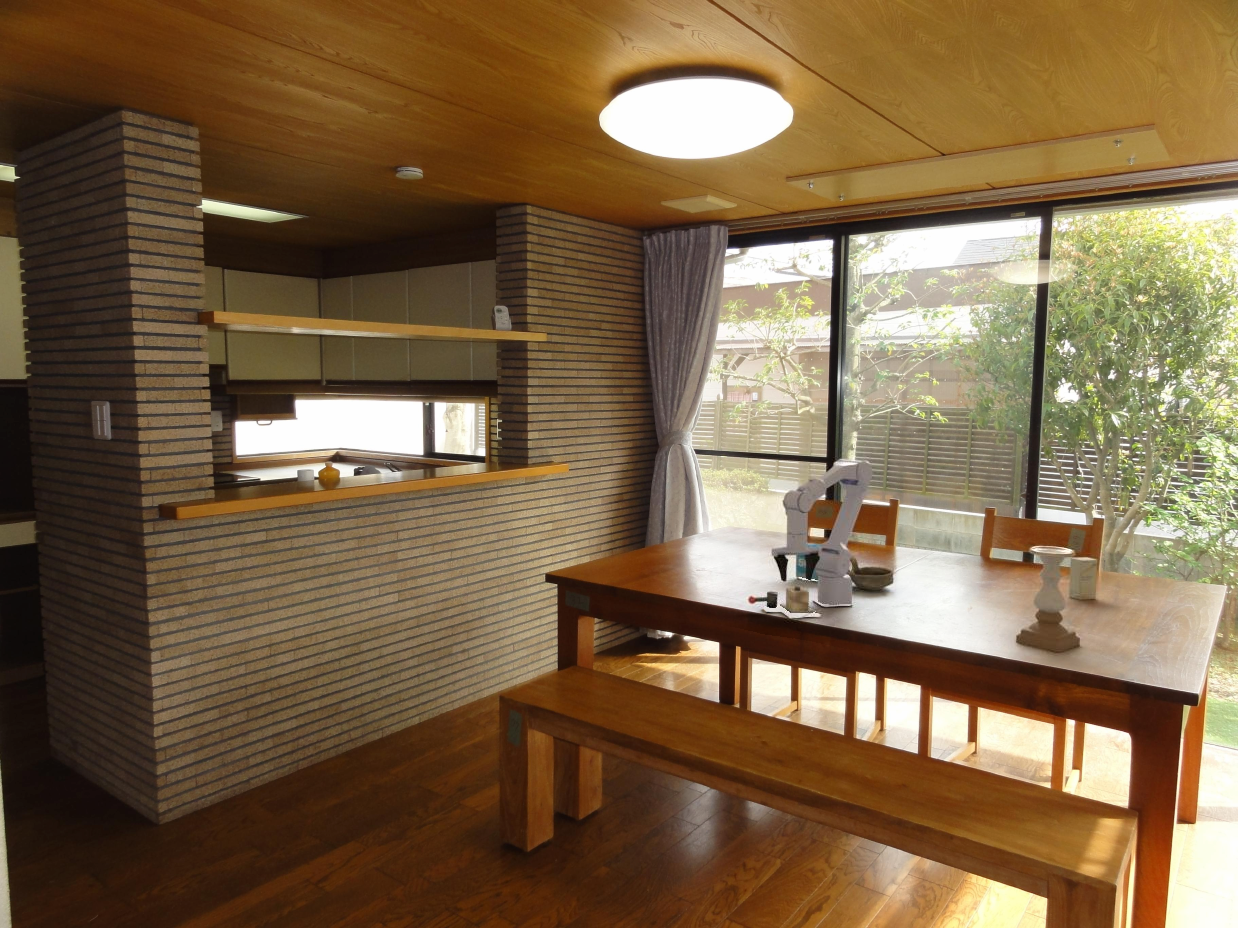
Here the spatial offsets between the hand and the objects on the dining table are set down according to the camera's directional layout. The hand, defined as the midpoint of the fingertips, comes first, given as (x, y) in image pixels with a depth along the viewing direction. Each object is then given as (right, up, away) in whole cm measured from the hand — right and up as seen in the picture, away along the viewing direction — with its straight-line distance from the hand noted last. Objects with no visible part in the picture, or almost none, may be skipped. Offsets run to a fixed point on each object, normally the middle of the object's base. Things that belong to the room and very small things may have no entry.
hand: (796, 579), depth 236 cm
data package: (+15, -6, +40) cm, 44 cm away
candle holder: (+57, -12, -28) cm, 65 cm away
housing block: (0, -8, +1) cm, 8 cm away
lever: (-9, -8, +2) cm, 12 cm away
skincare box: (+91, -8, +17) cm, 93 cm away
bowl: (+29, -7, +30) cm, 42 cm away
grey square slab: (-2, -9, 0) cm, 10 cm away
